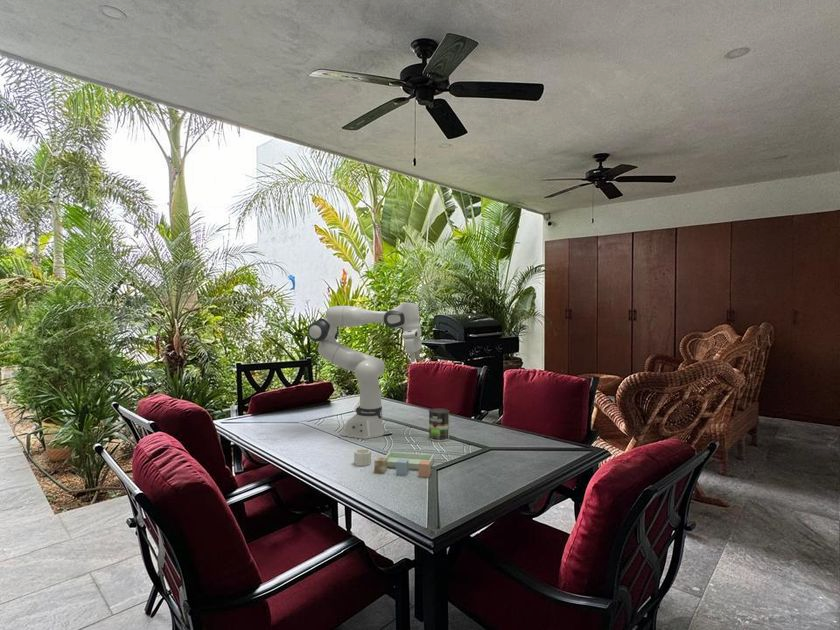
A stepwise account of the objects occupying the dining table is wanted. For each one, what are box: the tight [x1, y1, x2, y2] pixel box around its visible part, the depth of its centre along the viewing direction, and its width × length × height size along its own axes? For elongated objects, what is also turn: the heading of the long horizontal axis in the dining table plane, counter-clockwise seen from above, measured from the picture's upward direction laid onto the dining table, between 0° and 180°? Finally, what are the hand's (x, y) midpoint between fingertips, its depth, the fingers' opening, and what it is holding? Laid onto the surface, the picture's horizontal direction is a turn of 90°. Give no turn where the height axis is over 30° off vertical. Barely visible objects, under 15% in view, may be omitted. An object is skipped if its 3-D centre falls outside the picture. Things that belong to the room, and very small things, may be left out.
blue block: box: [395, 459, 410, 476], centre depth 174 cm, size 4×4×5 cm
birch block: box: [373, 456, 388, 474], centre depth 175 cm, size 4×4×5 cm
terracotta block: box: [418, 460, 432, 478], centre depth 172 cm, size 4×4×5 cm
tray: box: [383, 451, 435, 471], centre depth 183 cm, size 20×12×3 cm, turn 78°
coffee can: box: [428, 407, 450, 442], centre depth 219 cm, size 10×10×14 cm
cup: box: [353, 448, 372, 467], centre depth 184 cm, size 7×7×5 cm
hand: (415, 360), depth 220 cm, fingers open, 8 cm apart
